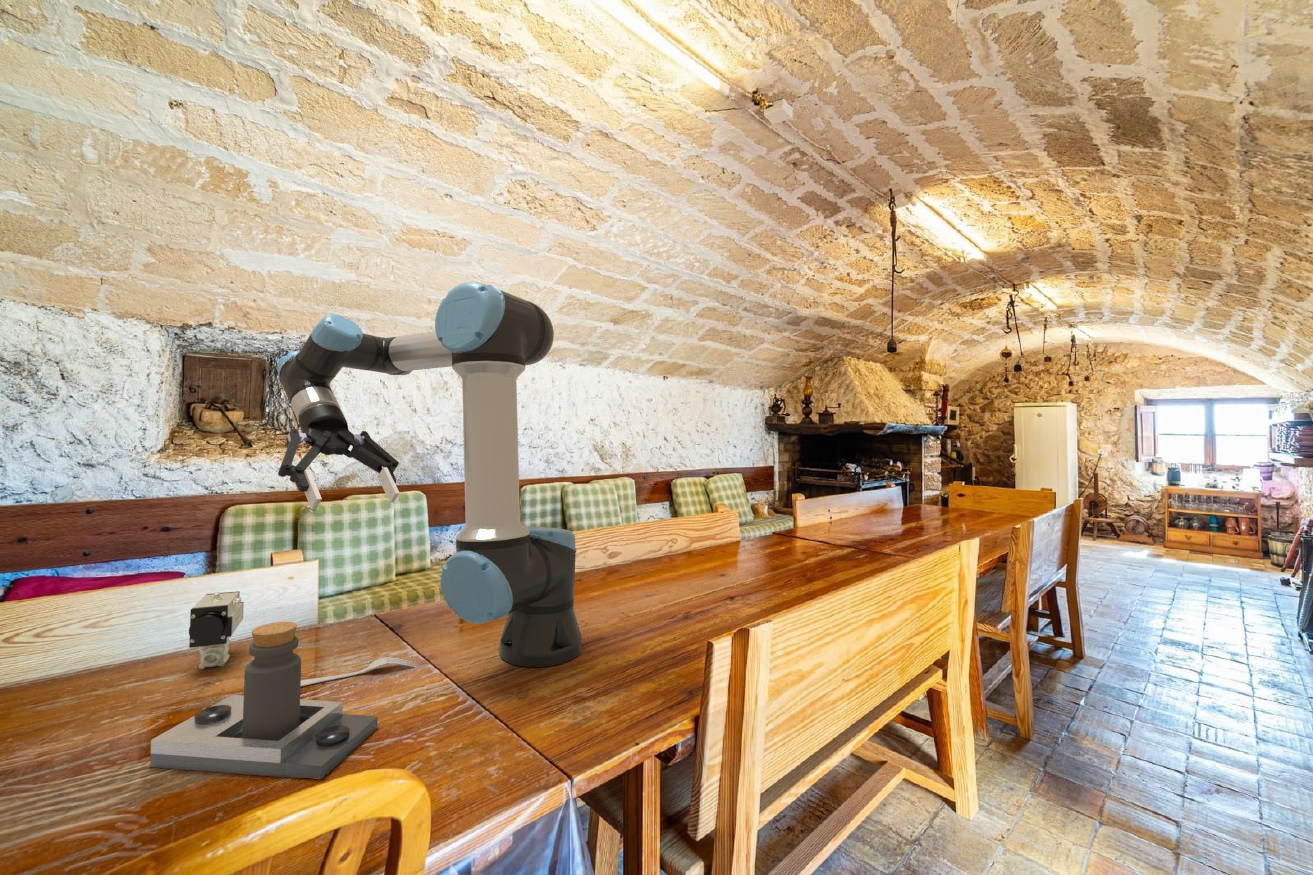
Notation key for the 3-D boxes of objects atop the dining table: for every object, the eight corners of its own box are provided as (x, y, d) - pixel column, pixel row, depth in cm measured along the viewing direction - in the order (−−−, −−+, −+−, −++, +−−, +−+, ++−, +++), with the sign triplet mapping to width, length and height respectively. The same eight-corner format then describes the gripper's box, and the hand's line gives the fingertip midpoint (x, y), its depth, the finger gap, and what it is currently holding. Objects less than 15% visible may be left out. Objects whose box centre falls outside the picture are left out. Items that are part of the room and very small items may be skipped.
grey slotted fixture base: (377, 728, 72) (378, 700, 72) (321, 780, 61) (322, 747, 61) (230, 717, 73) (231, 690, 73) (150, 767, 62) (151, 734, 62)
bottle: (261, 733, 70) (265, 619, 70) (308, 732, 70) (311, 619, 70) (230, 760, 64) (234, 636, 64) (281, 759, 65) (285, 635, 65)
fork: (273, 703, 83) (272, 686, 83) (418, 663, 93) (417, 648, 93) (271, 711, 80) (270, 693, 80) (420, 669, 91) (419, 653, 91)
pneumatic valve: (185, 681, 83) (188, 604, 83) (206, 653, 94) (208, 585, 94) (229, 674, 86) (232, 600, 86) (245, 648, 96) (247, 582, 96)
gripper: (376, 431, 115) (414, 507, 106) (236, 427, 94) (269, 522, 86) (390, 406, 112) (430, 483, 103) (249, 397, 91) (285, 491, 83)
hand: (358, 501), depth 94 cm, fingers open, 13 cm apart
